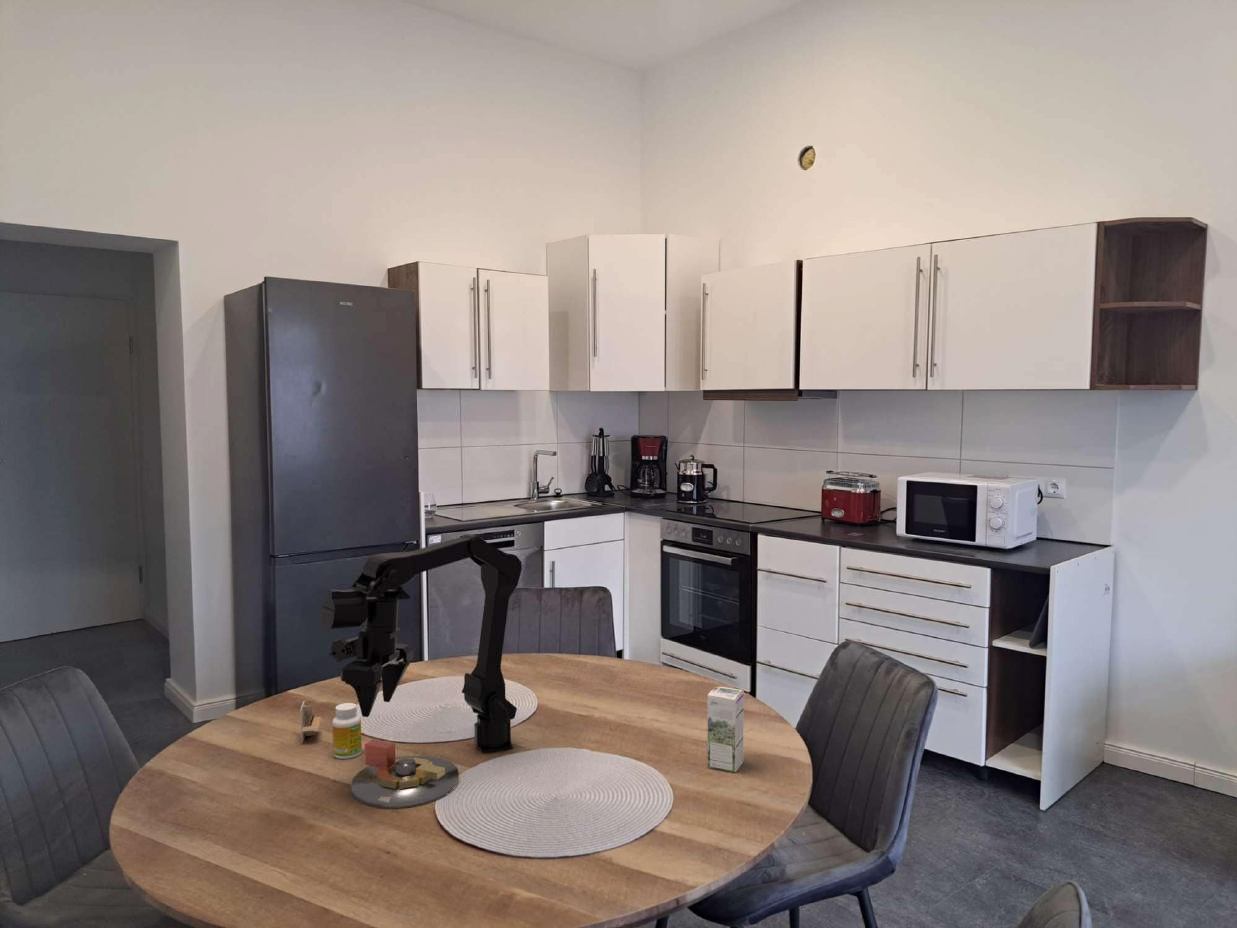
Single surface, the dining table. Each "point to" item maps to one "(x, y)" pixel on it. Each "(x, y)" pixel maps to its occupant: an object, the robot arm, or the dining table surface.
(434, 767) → the colourful block cluster
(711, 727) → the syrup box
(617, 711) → the dining table surface
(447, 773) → the cap plate
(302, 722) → the architectural model
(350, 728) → the supplement bottle
